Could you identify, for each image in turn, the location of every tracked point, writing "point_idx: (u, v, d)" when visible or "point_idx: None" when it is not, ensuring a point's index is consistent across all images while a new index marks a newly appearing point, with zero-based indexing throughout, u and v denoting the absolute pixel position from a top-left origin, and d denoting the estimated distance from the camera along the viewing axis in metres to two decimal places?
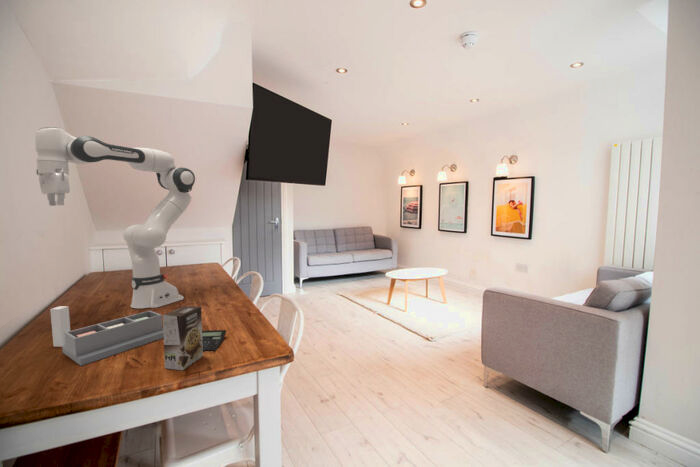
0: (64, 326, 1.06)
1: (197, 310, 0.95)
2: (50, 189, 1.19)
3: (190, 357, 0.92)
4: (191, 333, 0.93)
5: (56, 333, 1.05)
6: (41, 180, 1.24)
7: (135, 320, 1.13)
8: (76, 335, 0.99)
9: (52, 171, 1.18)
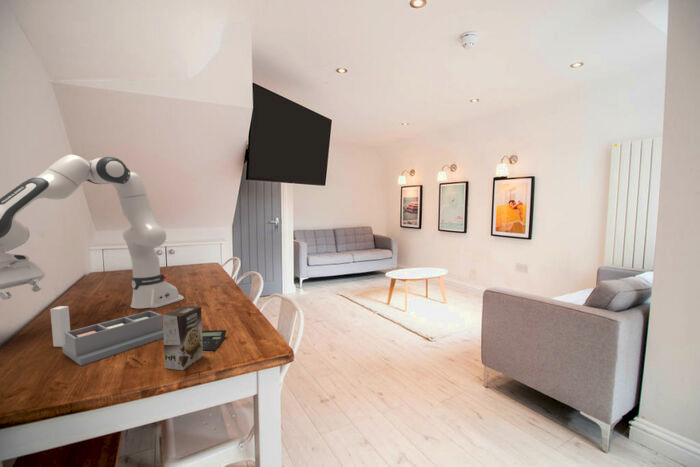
0: (64, 326, 1.06)
1: (197, 310, 0.95)
2: None
3: (190, 357, 0.92)
4: (191, 333, 0.93)
5: (56, 333, 1.05)
6: None
7: (135, 320, 1.13)
8: (76, 335, 0.99)
9: None
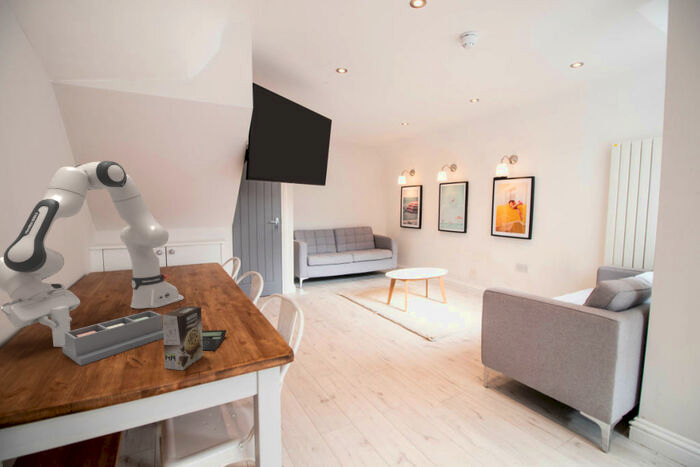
0: (64, 326, 1.06)
1: (197, 310, 0.95)
2: None
3: (190, 357, 0.92)
4: (191, 333, 0.93)
5: (56, 333, 1.05)
6: None
7: (135, 320, 1.13)
8: (76, 335, 0.99)
9: None
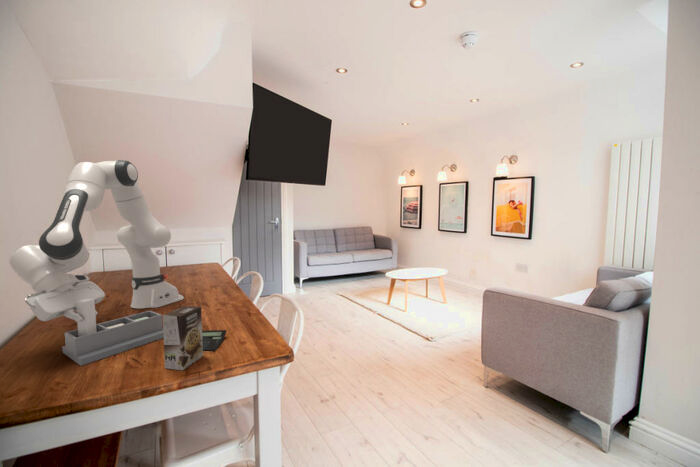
0: (90, 320, 0.99)
1: (197, 310, 0.95)
2: None
3: (190, 357, 0.92)
4: (191, 333, 0.93)
5: (81, 328, 0.98)
6: None
7: (135, 320, 1.13)
8: None
9: None
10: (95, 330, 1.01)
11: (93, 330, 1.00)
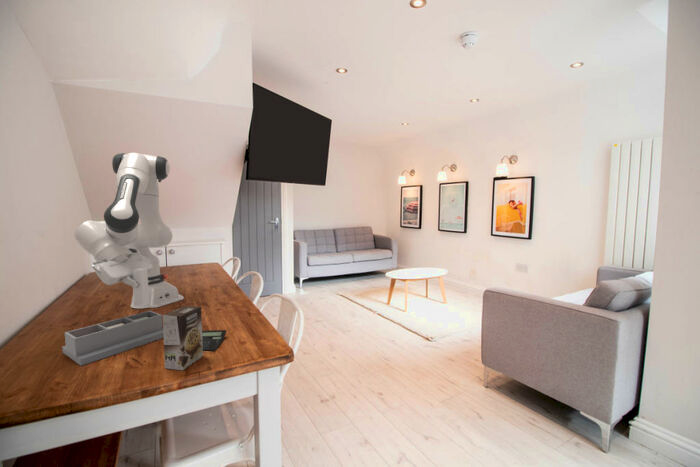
0: (144, 287, 1.12)
1: (197, 310, 0.95)
2: None
3: (190, 357, 0.92)
4: (191, 333, 0.93)
5: (137, 293, 1.11)
6: None
7: (135, 320, 1.13)
8: None
9: None
10: (147, 296, 1.14)
11: (146, 296, 1.13)
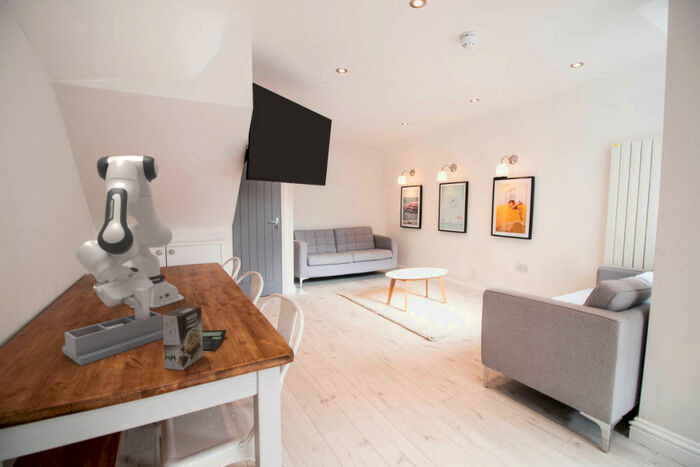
0: (145, 306, 1.13)
1: (197, 310, 0.95)
2: None
3: (190, 357, 0.92)
4: (191, 333, 0.93)
5: (138, 313, 1.12)
6: None
7: None
8: None
9: None
10: (149, 315, 1.14)
11: (147, 316, 1.14)
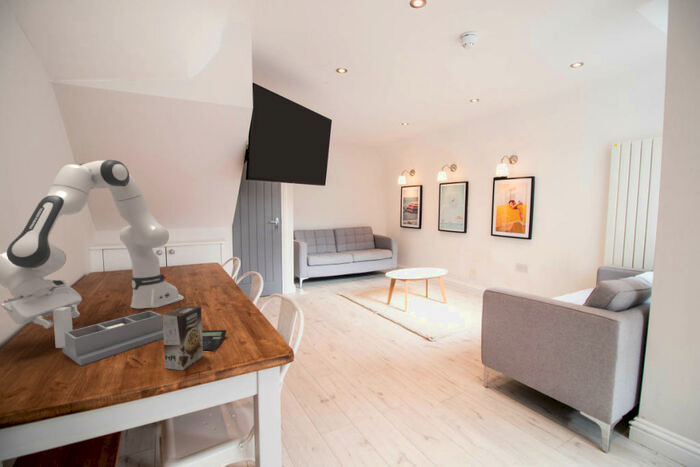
0: (67, 327, 1.05)
1: (197, 310, 0.95)
2: (42, 314, 1.04)
3: (190, 357, 0.92)
4: (191, 333, 0.93)
5: (58, 334, 1.04)
6: None
7: None
8: None
9: None
10: None
11: None
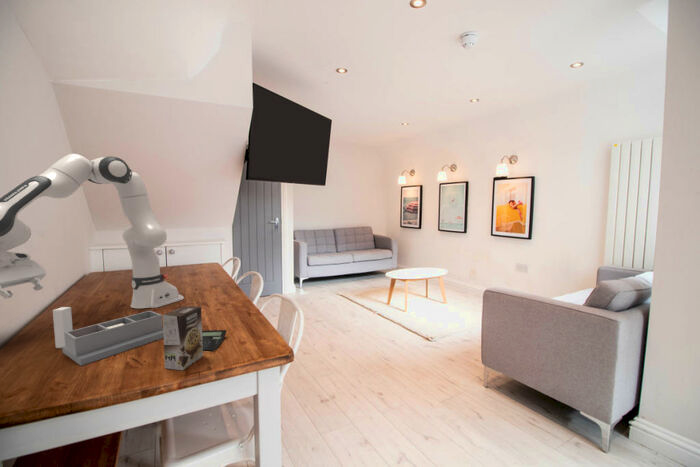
0: (67, 327, 1.05)
1: (197, 310, 0.95)
2: None
3: (190, 357, 0.92)
4: (191, 333, 0.93)
5: (58, 334, 1.04)
6: None
7: None
8: None
9: None
10: None
11: None
